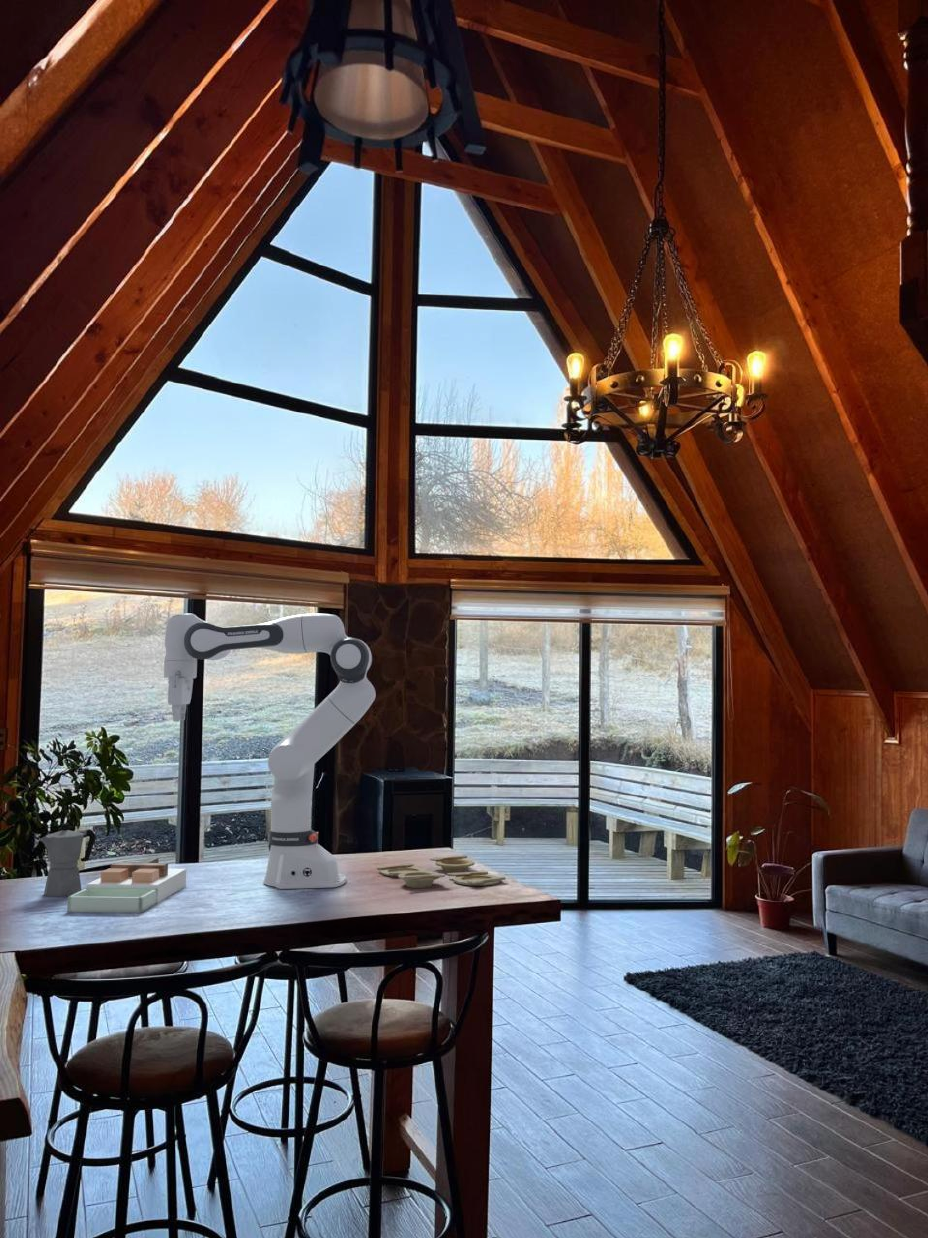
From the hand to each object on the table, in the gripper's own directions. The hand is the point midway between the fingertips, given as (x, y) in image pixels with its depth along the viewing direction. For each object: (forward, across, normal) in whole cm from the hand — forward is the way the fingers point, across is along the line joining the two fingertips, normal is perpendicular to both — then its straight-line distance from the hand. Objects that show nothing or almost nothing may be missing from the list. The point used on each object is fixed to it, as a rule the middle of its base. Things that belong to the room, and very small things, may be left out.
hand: (178, 721), depth 258 cm
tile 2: (+40, -18, +12) cm, 45 cm away
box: (+44, -29, +10) cm, 54 cm away
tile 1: (+40, -20, +4) cm, 45 cm away
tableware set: (+44, -4, -73) cm, 86 cm away
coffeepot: (+44, -9, +26) cm, 52 cm away
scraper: (+40, -9, +6) cm, 41 cm away
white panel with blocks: (+44, -14, +7) cm, 47 cm away
